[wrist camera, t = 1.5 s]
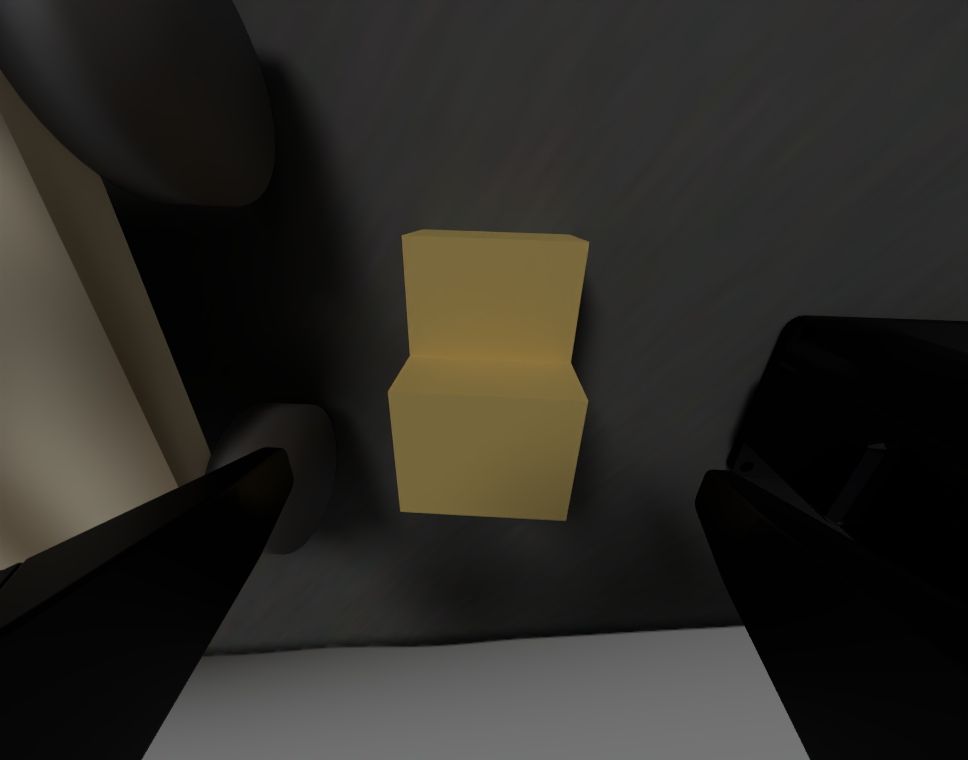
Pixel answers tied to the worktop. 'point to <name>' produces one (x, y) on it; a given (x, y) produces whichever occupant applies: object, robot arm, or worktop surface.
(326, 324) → the worktop surface
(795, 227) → the worktop surface
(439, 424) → the block
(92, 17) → the trolley
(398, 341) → the worktop surface
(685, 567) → the worktop surface
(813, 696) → the robot arm
